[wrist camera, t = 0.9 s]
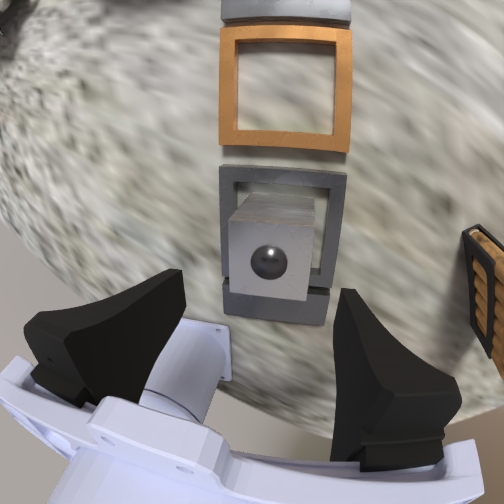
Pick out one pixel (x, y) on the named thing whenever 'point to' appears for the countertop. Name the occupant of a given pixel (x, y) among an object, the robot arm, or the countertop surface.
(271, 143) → the rail
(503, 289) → the ammunition clip
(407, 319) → the countertop surface
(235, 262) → the brushed metal block
